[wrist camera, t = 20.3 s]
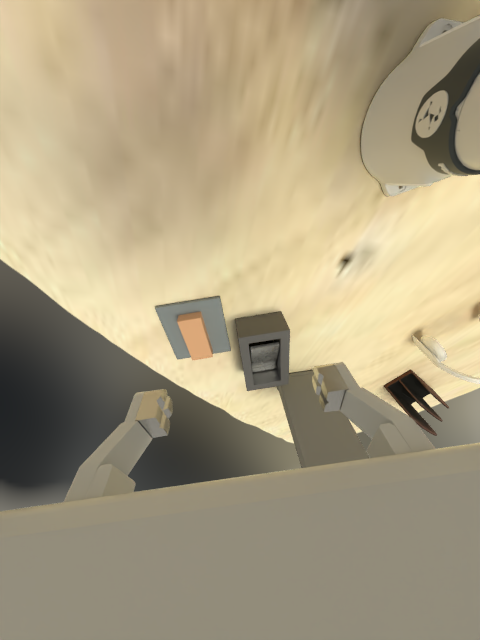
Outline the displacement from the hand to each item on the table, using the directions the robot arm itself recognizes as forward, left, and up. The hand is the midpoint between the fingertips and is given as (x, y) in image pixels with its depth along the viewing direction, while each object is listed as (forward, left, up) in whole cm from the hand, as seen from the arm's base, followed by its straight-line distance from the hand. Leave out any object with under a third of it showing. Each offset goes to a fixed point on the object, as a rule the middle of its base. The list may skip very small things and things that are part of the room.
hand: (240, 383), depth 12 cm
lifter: (-5, +30, -29) cm, 42 cm away
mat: (+10, +21, -33) cm, 40 cm away
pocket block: (-5, +29, -33) cm, 44 cm away
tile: (+10, +21, -32) cm, 40 cm away
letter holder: (-57, +62, -33) cm, 90 cm away
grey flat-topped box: (-16, +46, -33) cm, 59 cm away
